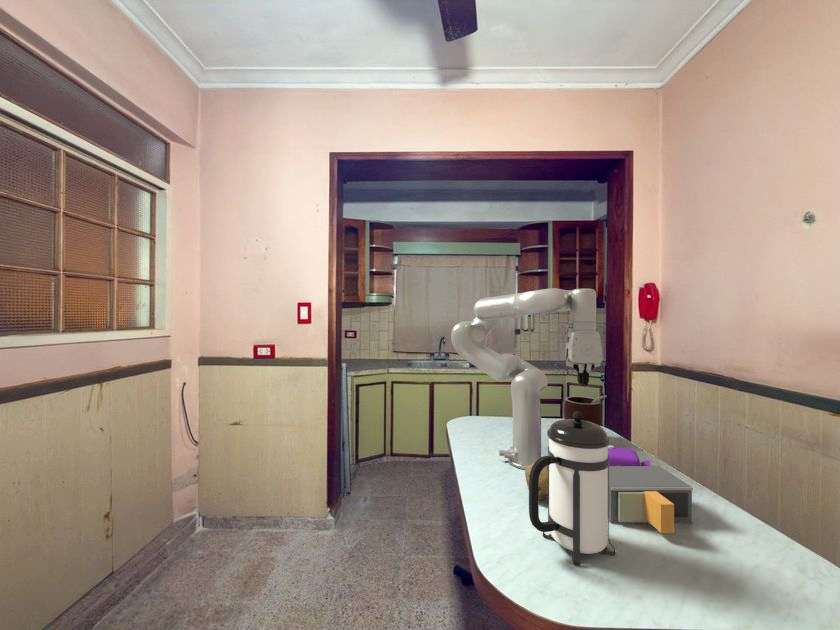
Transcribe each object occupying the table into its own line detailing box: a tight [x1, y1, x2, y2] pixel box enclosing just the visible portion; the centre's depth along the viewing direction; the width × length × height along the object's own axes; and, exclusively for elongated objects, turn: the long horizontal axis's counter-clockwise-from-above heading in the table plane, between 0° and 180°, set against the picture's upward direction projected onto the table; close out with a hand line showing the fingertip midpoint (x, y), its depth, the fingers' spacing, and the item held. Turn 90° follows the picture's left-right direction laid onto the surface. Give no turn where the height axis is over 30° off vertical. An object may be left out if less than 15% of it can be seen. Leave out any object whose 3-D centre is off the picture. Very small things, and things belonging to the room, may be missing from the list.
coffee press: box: [528, 411, 616, 566], centre depth 80 cm, size 17×16×30 cm
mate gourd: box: [563, 394, 607, 427], centre depth 144 cm, size 16×14×20 cm
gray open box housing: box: [609, 465, 694, 524], centre depth 94 cm, size 22×12×9 cm, turn 90°
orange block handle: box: [618, 491, 675, 534], centre depth 85 cm, size 9×7×8 cm
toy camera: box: [608, 444, 652, 466], centre depth 110 cm, size 11×14×10 cm
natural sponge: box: [524, 462, 548, 500], centre depth 101 cm, size 9×9×10 cm
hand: (583, 384), depth 115 cm, fingers closed
